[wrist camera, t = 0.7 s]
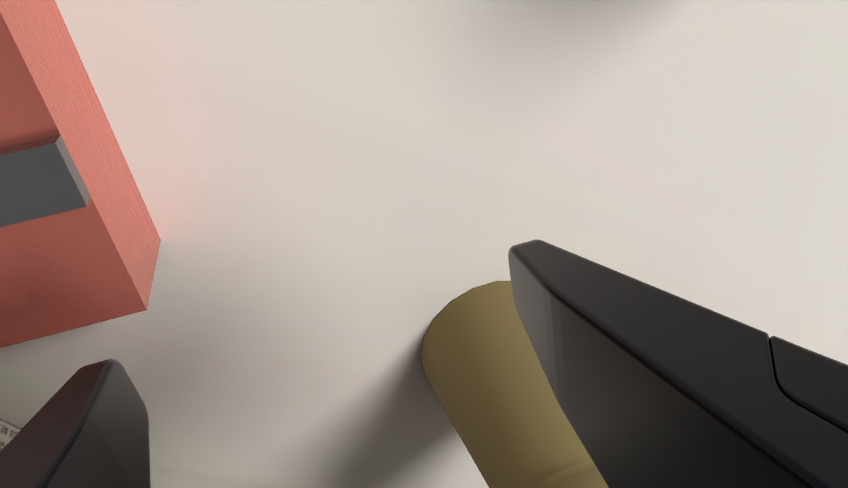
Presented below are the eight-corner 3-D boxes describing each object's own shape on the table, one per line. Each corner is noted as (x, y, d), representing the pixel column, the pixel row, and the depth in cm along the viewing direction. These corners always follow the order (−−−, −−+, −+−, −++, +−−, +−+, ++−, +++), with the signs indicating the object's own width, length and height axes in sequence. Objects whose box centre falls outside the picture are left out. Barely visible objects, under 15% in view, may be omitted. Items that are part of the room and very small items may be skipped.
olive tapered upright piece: (402, 397, 26) (490, 692, 17) (445, 271, 24) (577, 541, 14) (534, 403, 28) (676, 670, 19) (588, 288, 26) (782, 533, 16)
